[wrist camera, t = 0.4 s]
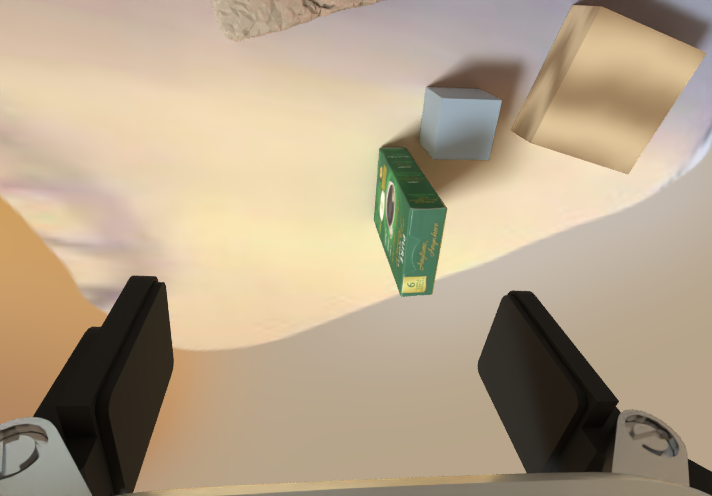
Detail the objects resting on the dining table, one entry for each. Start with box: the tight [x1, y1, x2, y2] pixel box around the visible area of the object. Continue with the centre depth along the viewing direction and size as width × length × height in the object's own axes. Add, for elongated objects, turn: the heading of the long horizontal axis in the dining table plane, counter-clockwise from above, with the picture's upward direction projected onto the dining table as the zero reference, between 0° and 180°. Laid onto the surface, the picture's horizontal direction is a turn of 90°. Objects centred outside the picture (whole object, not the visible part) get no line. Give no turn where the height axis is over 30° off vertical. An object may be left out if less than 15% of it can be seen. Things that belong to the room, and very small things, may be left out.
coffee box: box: [374, 147, 447, 297], centre depth 37 cm, size 8×3×13 cm, turn 177°
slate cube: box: [419, 87, 502, 160], centre depth 38 cm, size 5×5×5 cm
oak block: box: [511, 5, 707, 174], centre depth 38 cm, size 11×11×4 cm
